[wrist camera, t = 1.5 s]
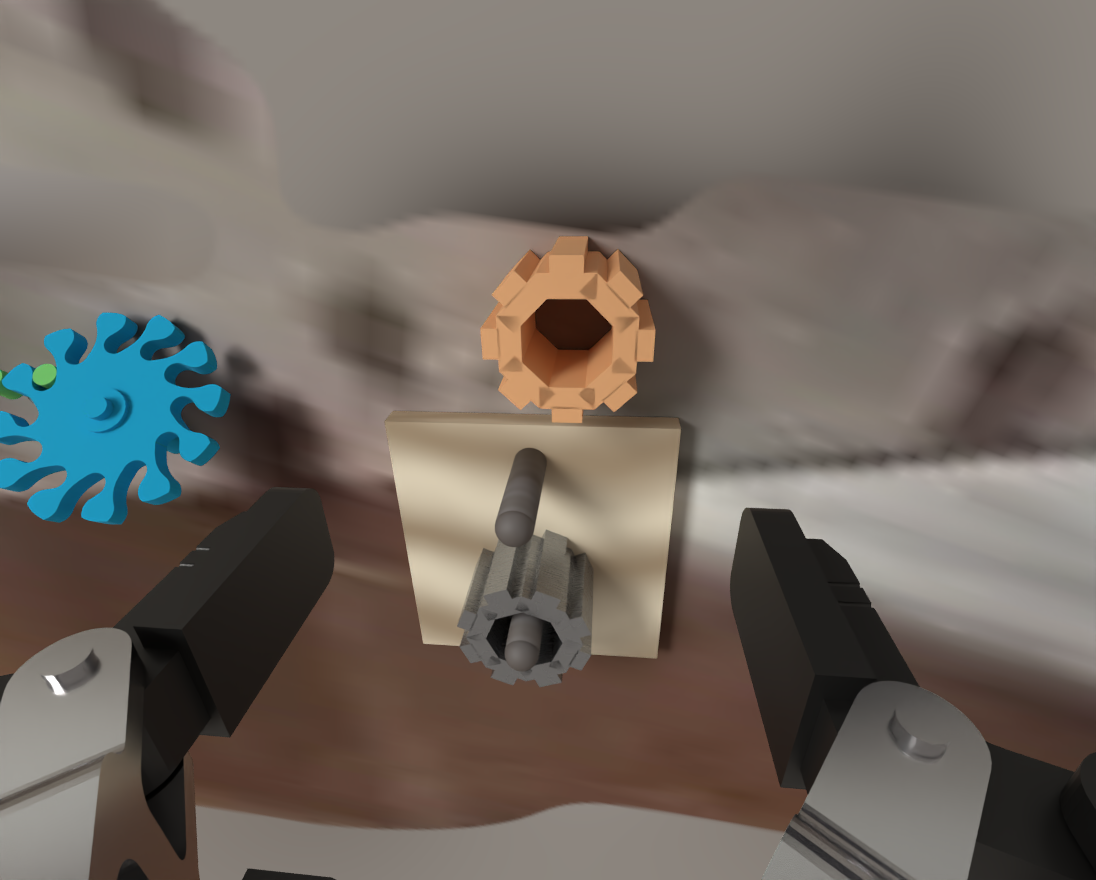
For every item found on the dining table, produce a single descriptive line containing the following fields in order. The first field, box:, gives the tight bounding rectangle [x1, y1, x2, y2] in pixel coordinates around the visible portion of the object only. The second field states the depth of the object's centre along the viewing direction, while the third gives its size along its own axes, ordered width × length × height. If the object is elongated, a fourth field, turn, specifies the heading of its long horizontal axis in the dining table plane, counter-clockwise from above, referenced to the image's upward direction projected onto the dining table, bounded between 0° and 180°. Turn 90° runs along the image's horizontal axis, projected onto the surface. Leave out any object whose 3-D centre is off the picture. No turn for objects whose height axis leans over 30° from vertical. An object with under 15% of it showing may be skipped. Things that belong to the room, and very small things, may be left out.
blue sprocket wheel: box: [0, 313, 231, 524], centre depth 27 cm, size 11×6×10 cm
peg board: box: [385, 411, 681, 671], centre depth 27 cm, size 15×14×7 cm
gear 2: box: [457, 530, 594, 687], centre depth 28 cm, size 6×6×4 cm
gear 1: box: [480, 236, 655, 423], centre depth 22 cm, size 6×6×4 cm
